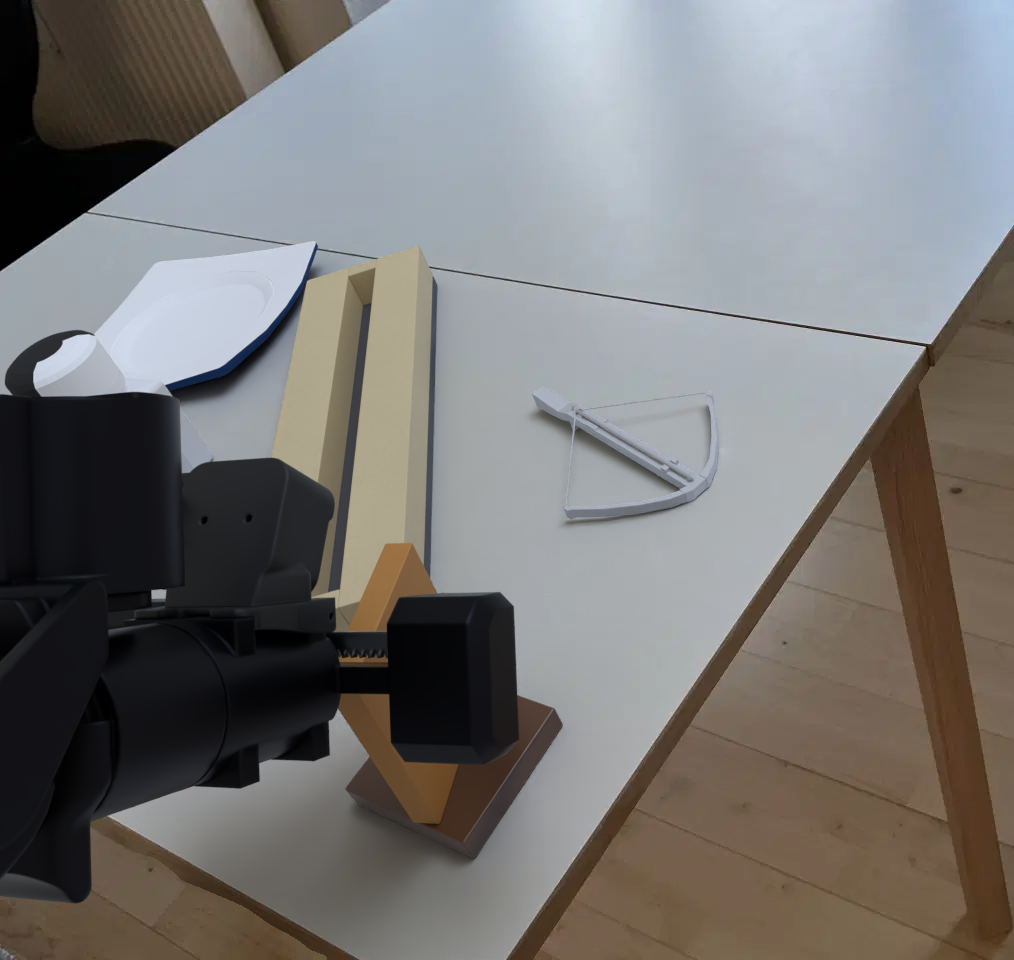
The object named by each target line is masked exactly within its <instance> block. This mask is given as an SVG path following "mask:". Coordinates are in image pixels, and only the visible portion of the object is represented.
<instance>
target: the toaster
mask: <svg viewBox="0 0 1014 960" xmlns="http://www.w3.org/2000/svg"><path fill="white" fill-rule="evenodd" d="M437 307H438V283H437V281H436V279H435V276H434V274H433V272H432V270H431V268H430V266H429V263H428V261H427V259H426V257H425V255H424V253H423V250H422V248H421V246H420V245H416V246H413V247H410V248H406V249H403V250H401V251H397V252H394V253H391V254H387V255H384V256H381V257H378V258H375V259H374V258H373V259H372V260H368V261H365V262H361V263H359V264H355V265H352V266H349V267H346V268H343V269H340V270H336V271H333V272H330V273H327V274H323V275H320V276H317V277H314V278H311V279H306V282H305V289H304V293H303V298H302V303H301V309H300V313H299V317H298V323H297V328H296V333H295V338H294V343H293V348H292V353H291V357H290V363H289V367H288V372H287V377H286V382H285V386H284V391H283V396H282V400H281V401H282V402H281V406H280V412H279V416H278V421H277V427H276V431H275V436H274V441H273V446H272V450H271V451H272V452H271V455H270V458H278V459H280V460H282V461H283V462H285V463H287V464H288V465H290V466H291V467H293V468H295V469H296V470H298V471H300V472H301V473H303V474H305V475H306V476H308V477H309V478H311V479H313V480H314V481H316V482H318V483H319V484H321V485H323V486H324V487H326V488H327V489H329V490H330V491H331V492H332V494H333V497H334V501H335V508H334V514H333V518H332V519H331V520H330V521H329V524H328V530H327V535H326V541H325V546H324V552H323V557H322V563H321V569H320V574H319V578H318V582H317V584H316V586H315V588H314V589H313V591H312V592H311V596H312V598H332V597H335V606H336V629H335V631H347V629H348V627H349V625H350V623H351V620H352V618H353V616H354V614H355V611H356V609H357V607H358V605H359V602H360V600H361V598H362V596H363V593H364V591H365V589H366V586H367V584H368V582H369V580H370V577H371V575H372V573H373V571H374V568H375V566H376V564H377V562H378V559H379V557H380V555H381V553H382V550H383V548H384V546H385V544H387V543H412V544H413V545H414V547H415V549H416V551H417V553H418V555H419V557H420V559H421V561H422V563H423V565H424V567H425V569H426V571H427V573H428V575H429V577H430V578H431V555H432V554H431V551H432V549H431V548H432V516H433V515H432V511H433V510H432V509H433V477H434V476H433V473H434V472H433V470H434V469H433V468H434V431H435V394H436V393H435V391H436V389H435V388H436V351H437V350H436V349H437V311H438V309H437Z"/></svg>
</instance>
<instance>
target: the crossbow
mask: <svg viewBox="0 0 1014 960" xmlns="http://www.w3.org/2000/svg"><path fill="white" fill-rule="evenodd" d="M704 394H705V395H706V400H707V405H708V409H709V414H710V433H711V434H710V436H711V439H710V448H709V457H708V460H707V462H706V464H705V467H704V468H703V469H702V471H701V472H700V474H699V473H697V472H696V471H694V470H692V469H691V468H688V467H687V466H685V465H683V464H682V463H680V461H679V459H678V458H676V457H674V456H672V457H670V456H668V455H667V454H665V453H663V452H661V451H660V450H658V449H656V448H654V447H653V446H651V445H650V444H647V443H646V442H644V441H642V440H641V439H639V438H638V437H636V436H634V435H632V434H630V433H629V432H627V431H625V430H624V429H622V428H620V427H619V426H617V425H615V424H614V423H612V422H610V421H608V419H606V418H605V417H603V416H601V415H600V414H596V413H595V412H593V411H591V410H595V409H603V408H609V407H615V406H625V405H631V404H632V405H633V404H637V403H644V402H645V403H646V402H653V401H660V400H668V399H674V398H681V397H688V396H696V395H704ZM531 395H532V399H533V400H534V403H535V405H536V407H537V408H538V409H539V410H541V411H543V412H545V413H547V414H549V415H551V416H553V417H555V418H557V419H559V420H561V421H565V422H569V424H570V426H571V428H572V438H571V445H570V446H571V447H570V457H569V465H568V466H569V467H568V476H567V485H566V495H565V505H564V506H562V509H563V511H564V514H565V516H566V517H567V518H568V519H570V520H574V519H581V518H582V519H583V518H610V517H621V516H629V515H638V514H645V513H650V512H655V511H661V510H665V509H672V508H674V507H677V506H680V505H683V504H685V503H690V502H692V501H694V500H696V499H697V497H698V496H700V495H701V494H702V493H703V492H704V491H705V490H707V489H709V488H710V486H711V485H712V483H713V479H714V477H715V474H716V472H717V469H718V460H719V459H718V458H719V449H720V447H719V429H718V428H719V427H718V425H719V424H718V420H717V417H716V413H715V407H714V404H715V399H714V395H713V392H712V391H710V390H708V389H706V390H705V391H699V392H693V393H686V394H679V395H678V394H677V395H672V396H670V395H669V396H664V397H657V398H649V399H642V400H636V401H635V400H634V401H628V402H621V403H613V404H606V405H599V406H592V407H584V406H582V405H581V404H579V403H575V402H570V401H568V400H567V399H566V398H564V397H563V396H561V395H560V394H559V393H557V392H556V391H554V390H553V389H551V388H550V387H548V386H547V385H545V384H543V385H542V386H540V387H539V388H538V389H536V390H535V391H534V392H532V393H531ZM579 429H581V430H583V431H584V432H586V433H587V434H589V435H591V436H592V437H594V438H595V439H597V440H599V441H601V442H602V443H604V444H606V445H607V446H609V447H610V448H612V449H614V450H616V451H617V452H619V453H621V454H622V455H623V456H625V457H627V458H629V459H630V460H632V461H633V462H635V463H637V464H639V465H640V466H642V467H643V468H645V469H647V470H648V471H650V472H651V473H654V474H655V475H657V476H658V477H659V478H661V479H663V480H665V481H666V482H668V483H670V484H671V485H673V486H675V487H677V488H678V489H679V490H677V491H674V492H672V493H669V494H665V495H663V496H656V497H653V498H652V497H651V498H647V499H641V500H636V501H628V502H620V503H611V504H603V505H602V504H601V505H575V506H572V505H571V506H570V505H568V502H569V501H568V500H569V491H570V481H571V471H572V461H573V451H574V440H575V432H577V431H578V430H579Z"/></svg>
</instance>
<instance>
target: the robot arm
mask: <svg viewBox="0 0 1014 960" xmlns="http://www.w3.org/2000/svg"><path fill="white" fill-rule="evenodd" d="M172 396H173V395H172ZM172 396H168V395H162V394H155V393H146V392H124V393H114V394H103V395H93V396H47V397H26V396H16V395H12V394H6V393H0V897H1V898H12V899H23V900H31V901H32V900H34V901H41V902H42V901H43V902H52V903H53V902H55V903H63V904H73V905H75V904H76V905H77V904H80V903H83V902H84V901H86V900H87V899H88V898H89V896H90V894H91V891H92V886H93V879H92V846H91V845H92V844H91V839H92V838H91V824H92V823H91V822H93V821H96V820H100V819H103V818H105V817H108V816H110V815H114V814H117V813H120V812H123V811H126V810H128V809H131V808H134V807H137V806H140V805H143V804H146V803H149V802H151V801H155V800H157V799H160V798H163V797H166V796H168V795H171V794H175V793H177V792H181V791H184V790H186V789H190V788H193V787H197V788H215V789H216V788H218V789H220V788H221V789H237V790H238V789H239V790H240V789H244V788H246V787H248V786H252V785H254V784H257V783H260V782H261V777H260V776H261V775H260V764H261V763H265V762H267V761H271V760H272V761H293V762H295V761H298V762H316V761H319V760H322V759H324V758H327V757H329V756H331V748H330V745H331V743H330V722H331V721H332V720H334V718H336V714H337V712H338V711H339V709H338V706H339V703H340V699H341V694H389V706H390V734H391V744H392V745H393V747H394V748H395V749H396V751H397V752H398V754H399V755H400V756H401V758H402V759H403V760H404V762H415V763H442V764H469V765H486V764H488V763H490V762H492V761H494V760H496V759H498V758H500V757H502V756H504V755H506V754H507V753H508V752H509V751H510V750H511V748H512V747H513V746H514V745H515V744H516V743H517V742H518V741H519V723H518V698H517V695H518V679H517V678H518V674H517V672H518V671H517V652H516V651H517V650H516V630H515V629H516V625H515V606H514V605H513V603H512V602H511V601H509V600H508V598H507V597H506V596H505V595H504V594H503V593H502V592H501V591H480V592H479V591H478V592H477V591H476V592H437V593H436V594H422V595H411V596H405V597H399V598H398V600H397V602H396V605H395V607H394V609H393V611H392V613H391V616H390V618H389V620H388V622H387V631H335V629H336V606H335V597H332V598H312V596H311V592H312V591H313V589H314V588H315V586H316V584H317V582H318V578H319V574H320V569H321V563H322V557H323V552H324V546H325V541H326V535H327V530H328V524H329V521H330V520H331V519H332V518H333V514H334V508H335V501H334V497H333V494H332V492H331V491H330V490H329V489H327V488H326V487H324V486H323V485H321V484H319V483H318V482H316V481H314V480H313V479H311V478H309V477H308V476H306V475H305V474H303V473H301V472H300V471H298V470H296V469H295V468H293V467H291V466H290V465H288V464H287V463H285V462H283V461H282V460H280V459H278V458H271V457H259V458H258V457H257V458H244V459H228V460H227V459H226V460H215V461H210V462H205V463H202V464H200V465H198V466H196V467H195V468H194V469H193V470H192V471H191V472H190V473H182V459H181V426H180V408H181V401H180V399H179V398H178V397H176V396H173V397H172ZM159 590H161V591H162V590H163V591H165V597H164V598H153V596H152V593H153V592H152V591H159ZM349 655H350V657H351V658H356V657H358V655H359V658H364V657H366V656H368V658H373V657H375V656H377V658H382V657H384V655H385V656H386V658H388V662H340V661H339V657H340V656H342V658H347V657H349Z"/></svg>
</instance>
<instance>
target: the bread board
mask: <svg viewBox="0 0 1014 960" xmlns="http://www.w3.org/2000/svg"><path fill="white" fill-rule="evenodd" d="M517 698H518V723H519V741H518V742H517V743H516V744H515V745H514V746H513V747H512V748H511V750H510V751H509V752H508V753H507V754H506V755H504V756H502V757H500V758H498V759H496V760H494V761H492V762H490V763H488V764H486V765H469V764H459V765H458V768H457V771H456V774H455V777H454V780H453V784H452V787H451V790H450V793H449V796H448V799H447V803H446V806H445V809H444V812H443V815H442V818H441V821H440V824H431V823H414V822H413V821H412V820H411V818H410V816H409V815H408V813H407V812H406V810H405V809H404V807H403V806H402V804H401V803H400V801H399V800H398V798H397V797H396V795H395V794H394V792H393V791H392V789H391V788H390V786H389V785H388V783H387V782H386V780H385V779H384V777H383V776H382V774H381V773H380V771H379V770H378V768H377V767H376V765H375V764H374V762H373V761H372V759H371V758H370V756H368V758H367V759H366V761H365V762H364V763H363V764H362V766H361V767H360V768H359V770H358V771H357V772H356V773H355V775H354V776H353V778H352V779H351V780H350V782H349V783H348V784H347V785H346V786H345V788H344V789H345V791H346V792H347V794H348V795H349V796H350V797H351V799H352V801H354V802H355V804H357V805H358V806H360V807H362V808H365V809H366V810H368V811H370V812H373V813H375V814H377V815H379V816H381V817H383V818H386V819H388V820H390V821H392V822H394V823H396V824H398V825H401V826H402V827H404V828H407V829H409V830H411V831H414V832H415V833H418V834H419V835H422V836H424V837H426V838H428V839H431V840H432V841H434V842H437V843H439V844H440V845H443V846H445V847H447V848H449V849H452V850H454V851H455V852H458V853H460V854H461V855H465V856H466V857H469V858H471V859H476V857H477V856H478V855H479V853H480V852H481V850H482V848H483V847H484V845H485V844H486V842H487V841H488V839H489V838H490V837H491V835H492V834H493V832H494V830H496V827H497V826H498V824H499V823H500V821H501V820H502V818H503V816H504V815H505V814H506V812H507V811H508V809H509V808H510V806H511V805H512V803H513V801H514V800H515V799H516V797H517V795H518V794H519V792H520V791H521V789H522V788H523V786H524V785H525V783H527V780H528V779H529V778H530V776H531V774H532V773H533V771H534V770H535V768H536V767H537V765H538V764H539V762H540V761H541V760H542V758H543V756H544V755H545V754H546V751H547V750H548V749H549V747H550V746H551V744H552V743H553V741H554V740H555V738H556V736H557V735H558V734H559V732H560V730H561V729H562V727H563V725H564V724H563V721H562V720H561V718H560V716H559V714H558V712H557V711H556V709H555V707H552V706H549V705H547V704H543V703H541V702H538V701H535V700H533V699H529V698H526V697H524V696H521V695H518V694H517Z"/></svg>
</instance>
